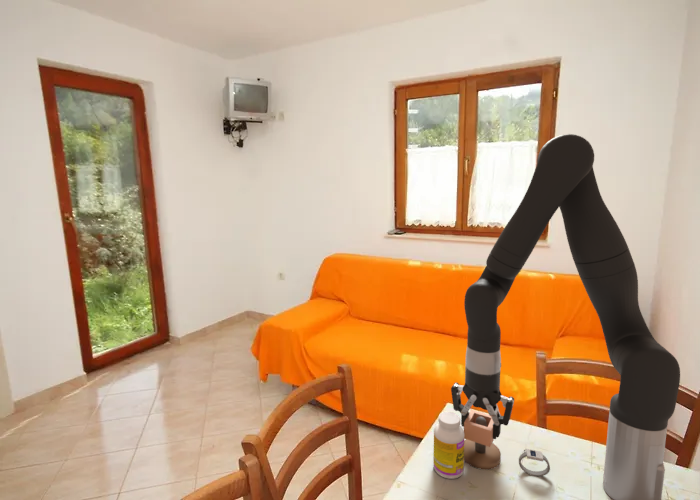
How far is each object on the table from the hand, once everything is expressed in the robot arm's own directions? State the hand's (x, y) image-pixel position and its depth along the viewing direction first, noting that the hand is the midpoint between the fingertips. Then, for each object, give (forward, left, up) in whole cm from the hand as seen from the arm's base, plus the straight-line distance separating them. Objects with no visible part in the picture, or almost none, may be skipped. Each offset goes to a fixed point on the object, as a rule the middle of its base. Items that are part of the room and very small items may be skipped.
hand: (480, 432), depth 90 cm
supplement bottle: (+5, +8, -6) cm, 11 cm away
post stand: (0, 0, -6) cm, 6 cm away
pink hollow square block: (0, 0, -1) cm, 1 cm away
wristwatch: (-12, 0, -6) cm, 13 cm away
